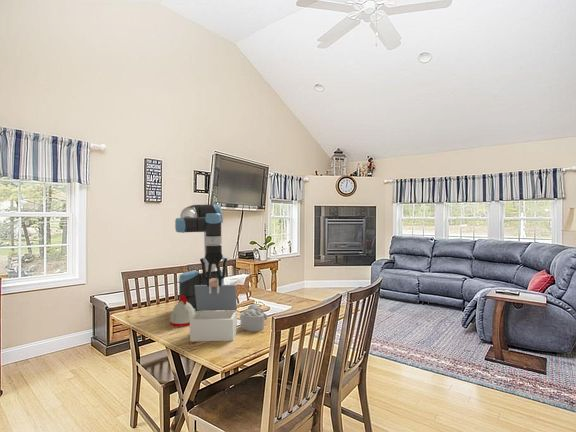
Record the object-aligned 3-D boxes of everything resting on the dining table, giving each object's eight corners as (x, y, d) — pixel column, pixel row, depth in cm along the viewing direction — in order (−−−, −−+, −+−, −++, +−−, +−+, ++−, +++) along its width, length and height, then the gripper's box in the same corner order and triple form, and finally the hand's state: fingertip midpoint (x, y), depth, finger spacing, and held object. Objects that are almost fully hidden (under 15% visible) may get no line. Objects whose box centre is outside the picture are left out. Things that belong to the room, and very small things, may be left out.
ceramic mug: (252, 322, 188) (252, 308, 188) (246, 318, 195) (246, 304, 195) (270, 319, 193) (270, 305, 193) (263, 315, 200) (263, 302, 200)
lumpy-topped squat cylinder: (254, 322, 188) (254, 306, 188) (268, 328, 178) (268, 311, 178) (238, 326, 181) (237, 310, 181) (252, 333, 171) (252, 315, 171)
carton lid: (194, 316, 170) (197, 309, 175) (235, 315, 171) (236, 309, 176) (191, 283, 165) (194, 277, 170) (233, 282, 165) (235, 277, 170)
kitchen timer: (175, 328, 179) (175, 299, 179) (166, 322, 190) (165, 295, 190) (200, 322, 188) (200, 295, 188) (190, 317, 199) (189, 291, 198)
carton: (197, 330, 175) (197, 311, 175) (237, 330, 176) (236, 310, 175) (190, 341, 161) (189, 320, 161) (233, 340, 162) (232, 319, 161)
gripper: (195, 245, 165) (195, 294, 165) (229, 245, 165) (229, 294, 166) (199, 244, 173) (199, 291, 173) (231, 244, 173) (232, 290, 173)
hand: (214, 292), depth 169 cm, fingers closed on carton lid, 3 cm apart
